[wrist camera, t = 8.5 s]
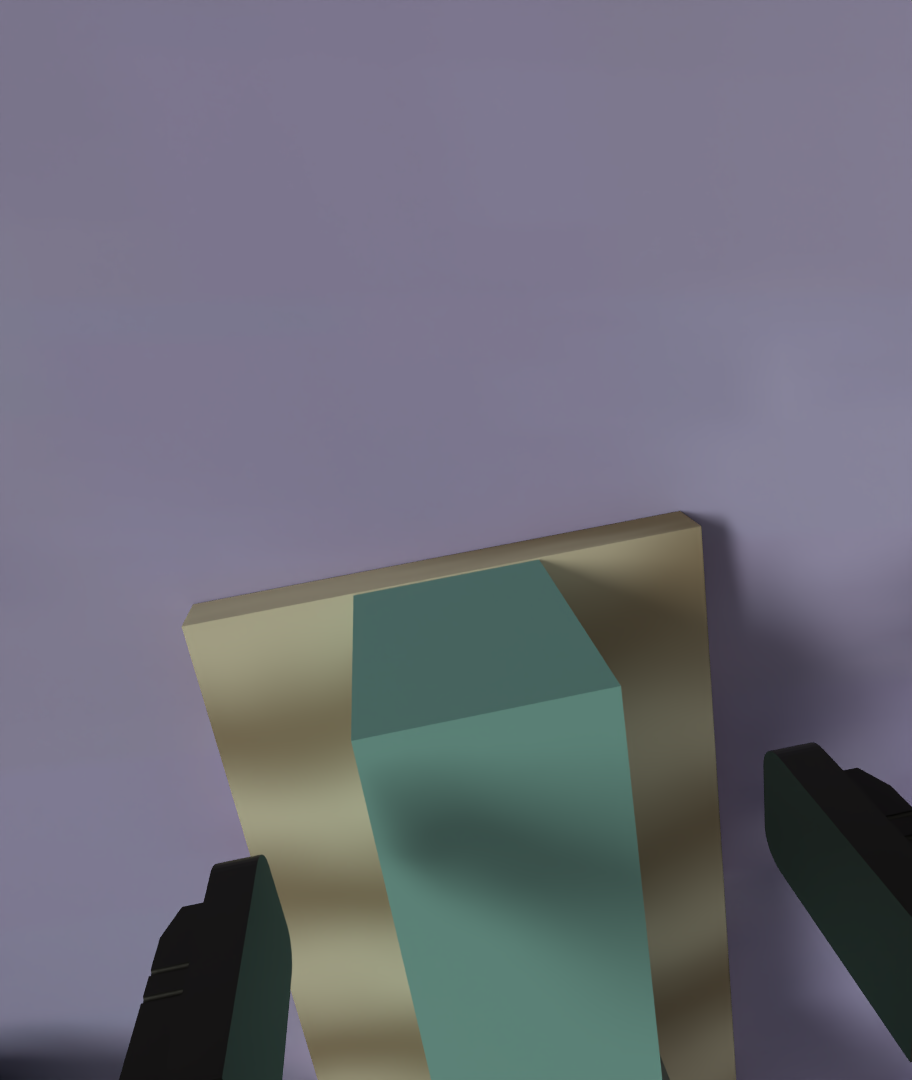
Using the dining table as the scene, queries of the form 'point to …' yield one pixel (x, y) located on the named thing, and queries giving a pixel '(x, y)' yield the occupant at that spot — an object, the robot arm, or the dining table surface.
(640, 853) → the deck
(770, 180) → the dining table surface
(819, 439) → the dining table surface
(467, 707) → the teal pillar
